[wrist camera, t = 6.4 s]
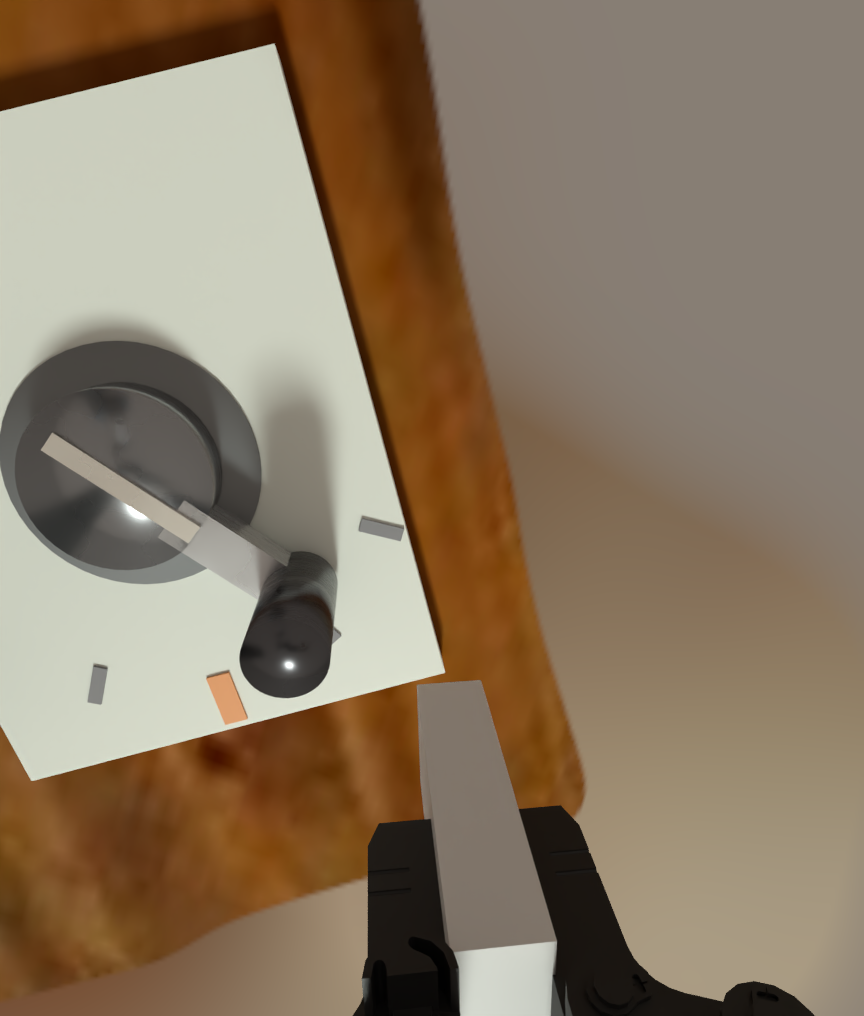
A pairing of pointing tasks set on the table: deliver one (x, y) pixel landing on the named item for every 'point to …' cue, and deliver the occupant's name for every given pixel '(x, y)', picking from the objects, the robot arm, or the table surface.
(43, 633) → the board
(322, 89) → the table surface
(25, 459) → the crank
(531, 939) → the robot arm
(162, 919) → the table surface
